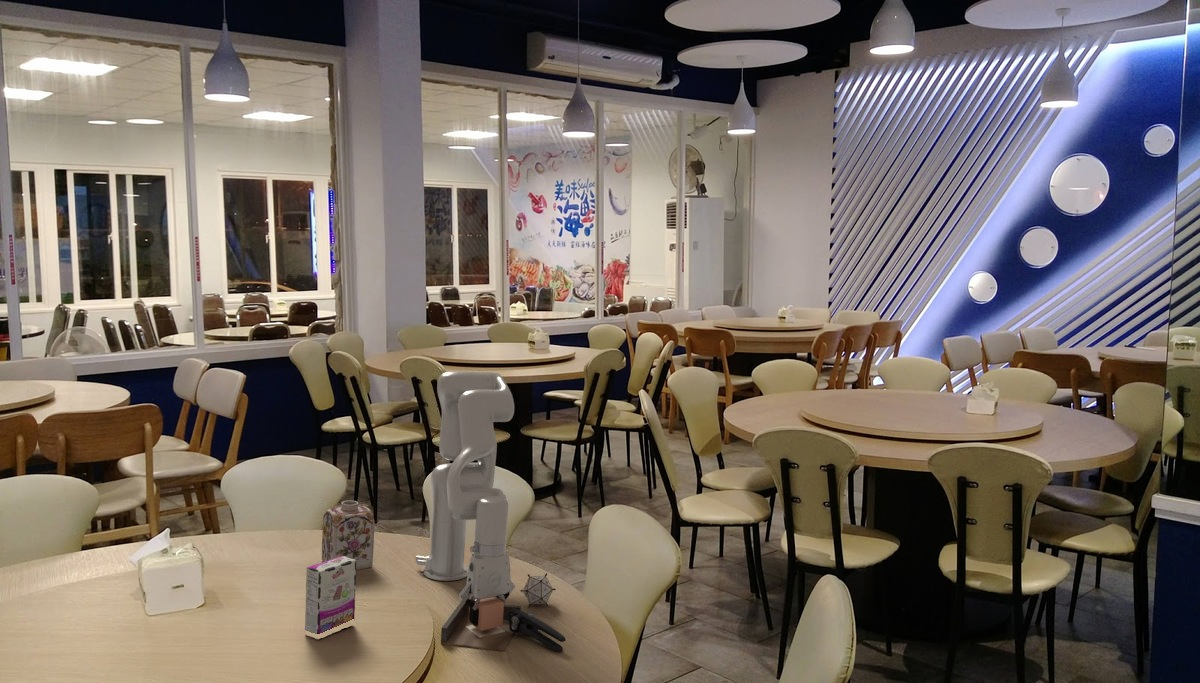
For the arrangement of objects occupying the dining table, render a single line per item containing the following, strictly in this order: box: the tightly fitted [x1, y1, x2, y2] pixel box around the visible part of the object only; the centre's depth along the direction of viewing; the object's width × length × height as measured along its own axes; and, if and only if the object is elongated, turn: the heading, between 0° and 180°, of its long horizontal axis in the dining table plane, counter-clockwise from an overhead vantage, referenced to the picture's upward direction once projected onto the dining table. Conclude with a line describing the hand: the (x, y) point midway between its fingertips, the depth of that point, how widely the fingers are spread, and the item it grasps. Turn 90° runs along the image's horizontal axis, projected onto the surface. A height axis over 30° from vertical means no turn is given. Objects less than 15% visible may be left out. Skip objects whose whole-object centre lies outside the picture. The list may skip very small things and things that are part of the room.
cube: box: [468, 597, 505, 631], centre depth 215 cm, size 6×6×6 cm
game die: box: [519, 572, 557, 608], centre depth 234 cm, size 9×8×10 cm
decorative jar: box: [321, 500, 375, 570], centre depth 254 cm, size 12×12×18 cm
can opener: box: [508, 608, 566, 652], centre depth 212 cm, size 18×7×6 cm, turn 48°
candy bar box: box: [304, 556, 357, 634], centre depth 209 cm, size 11×5×16 cm, turn 148°
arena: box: [440, 599, 522, 652], centre depth 214 cm, size 15×18×4 cm
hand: (485, 620), depth 215 cm, fingers closed on cube, 5 cm apart
